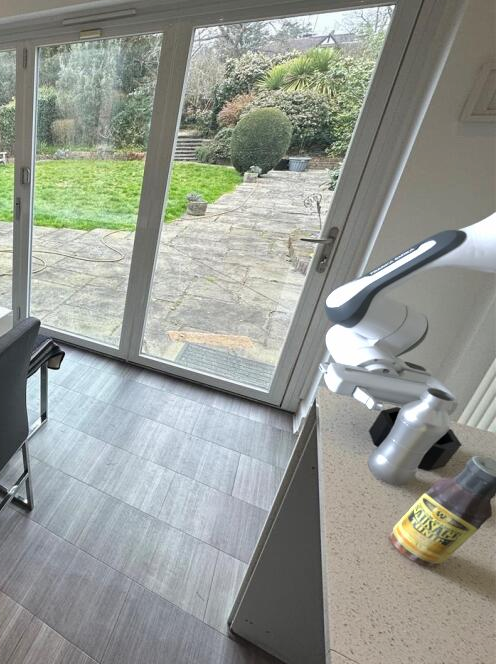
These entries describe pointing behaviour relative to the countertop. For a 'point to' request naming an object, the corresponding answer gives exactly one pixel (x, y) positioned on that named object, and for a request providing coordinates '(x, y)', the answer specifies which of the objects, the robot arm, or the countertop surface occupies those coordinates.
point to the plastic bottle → (412, 437)
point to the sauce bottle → (447, 514)
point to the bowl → (433, 457)
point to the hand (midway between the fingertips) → (407, 413)
